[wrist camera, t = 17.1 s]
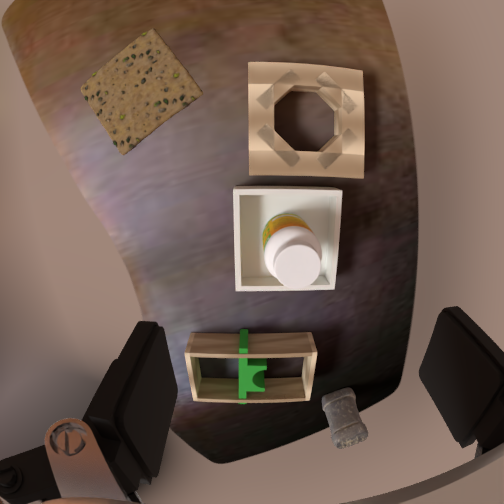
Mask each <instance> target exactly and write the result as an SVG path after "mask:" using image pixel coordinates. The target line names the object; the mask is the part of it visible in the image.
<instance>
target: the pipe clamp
mask: <svg viewBox="0 0 504 504" xmlns="http://www.w3.org/2000/svg"><path fill="white" fill-rule="evenodd" d="M239 354H248V329H240V341H239ZM264 370H267V361H266V358H239V399H246V391H253V392H265V381H264ZM239 404H246V403H239Z"/></svg>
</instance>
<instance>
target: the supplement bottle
mask: <svg viewBox="0 0 504 504" xmlns="http://www.w3.org/2000/svg"><path fill="white" fill-rule="evenodd" d="M262 241H263V251H264V260H265V264H266V267H267V269H268V270H269V272H270V273H271V274H272V275H273V276H274V277H275V278H277V279H278V280H279V282H280V283H282V284H283V285H284V286H286V287H289V288H293V289H300V288H304V287H307V286H309V285H311V284H312V283H313V282H314V281H315V280H316V279H317V278H318V276H319V274H320V271H321V259H322V249H321V245H320V243H319V241H318V239H317V237H316V236H315V234H314V233H313V232H312V230H311V229H310V228H309V226H308V225H307V223H306V222H305V221H304V220H303V219H302V218H301V217H299V216H298V215H296V214H292V213H281V214H278V215H275V216H274V217H272V218H271V219H270V220H269V221H268V222H267V223H266V225H265V227H264V229H263V234H262Z"/></svg>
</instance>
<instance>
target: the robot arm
mask: <svg viewBox="0 0 504 504" xmlns="http://www.w3.org/2000/svg"><path fill="white" fill-rule="evenodd" d="M419 377H420V379H421V381H422V383H423V384H424V386H425V388H426V389H427V391H428V393H429V394H430V396H431V397H432V399H433V401H434V403H435V405H436V406H437V408H438V410H439V412H440V413H441V415H442V417H443V419H444V421H445V422H446V424H447V426H448V428H449V430H450V432H451V433H452V435H453V437H454V439H455V440H456V441H457V442H459V444H460V445H461V447H462V448H464V447H466V446H468V445H471V444H473V443H474V441H475V440H476V439H477V441H478V444H477V449H476V454H475V459H473V460H471V461H469V462H467V463H465V464H463V465H461V466H459V467H456V468H454V469H452V470H450V471H447V472H445V473H443V474H440V475H438V476H435V477H433V478H430V479H427V480H425V481H422V482H419V483H416V484H414V485H411V486H408V487H405V488H401V489H398V490H395V491H392V492H388V493H385V494H381V495H377V496H373V497H369V498H365V499H361V500H357V501H352V502H347V503H341V504H504V352H503V351H502V350H501V349H500V348H499V347H498V346H497V344H496V343H495V342H493V340H492V339H491V338H490V337H489V336H488V335H487V334H486V333H485V332H484V331H483V330H482V329H481V328H480V327H479V326H478V325H477V324H476V323H475V322H474V321H473V320H472V319H471V318H470V317H469V316H468V315H467V314H466V313H465V312H464V311H463V310H462V309H461V308H459V307H458V306H456V307H455V306H454V307H448V308H444V309H443V310H442V312H441V313H440V314H439V316H438V318H437V322H436V324H435V328H434V331H433V334H432V337H431V340H430V343H429V345H428V348H427V351H426V353H425V356H424V359H423V361H422V364H421V366H420V369H419ZM177 393H178V388H177V383H176V379H175V375H174V371H173V367H172V363H171V359H170V354H169V350H168V345H167V341H166V336H165V331H164V328H163V327H160V326H158V323H157V322H150V321H139V322H138V323H137V325H136V326H135V328H134V330H133V332H132V334H131V335H130V337H129V339H128V341H127V342H126V344H125V346H124V348H123V350H122V351H121V353H120V355H119V357H118V359H115V360H114V361H113V362H112V363H111V365H110V367H109V369H108V371H107V373H106V374H105V376H104V378H103V380H102V382H101V384H100V386H99V388H98V389H97V391H96V393H95V396H94V397H93V399H92V401H91V403H90V405H89V407H88V409H87V411H86V413H85V415H84V417H83V419H82V420H79V419H73V418H67V419H62V420H60V421H58V422H56V423H54V424H53V425H52V426H51V427H50V428H49V429H48V431H47V433H46V436H45V445H43V446H40V447H37V448H34V449H32V450H29V451H26V452H23V453H20V454H17V455H15V456H11V457H9V458H5V459H3V460H1V461H0V504H144V503H143V502H142V500H141V499H140V497H139V496H138V494H137V493H136V490H138V487H139V483H144V484H149V485H150V484H151V480H152V477H157V476H158V473H159V469H160V465H161V461H162V456H163V451H164V448H165V443H166V439H167V435H168V431H169V427H170V423H171V419H172V415H173V411H174V407H175V403H176V399H177Z"/></svg>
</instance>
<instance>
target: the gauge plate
mask: <svg viewBox="0 0 504 504" xmlns="http://www.w3.org/2000/svg"><path fill="white" fill-rule="evenodd" d="M248 90H249V175H295V176H327V177H347V178H363V179H364V144H365V124H364V88H363V71H361V70H355V69H348V68H341V67H333V66H324V65H313V64H300V63H281V62H248ZM290 91H302V92H316V93H317V94H318V95H319V96H320V97H321V98H322V99H323V100H324V101H325V102H326V103H327V104H328V105H329V106H330V107H331V108H332V109H333V110H334V136H333V137H332V138H331V139H330V140H329V141H328V142H327V143H326V144H325V145H324V146H323V147H322V148H321V149H320V150H319V151H317V152H309V151H294V150H293V149H292V148H291V147H290V146H289V145H288V144H287V143H286V142H285V141H284V140H283V139H282V138H281V137H280V136H279V135H278V134H277V133H276V132H275V131H274V105H275V104H276V103H278V102H279V101H280V100H281V99H282V98H283V97H284V96H285V95H286V94H288V93H289V92H290Z"/></svg>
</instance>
